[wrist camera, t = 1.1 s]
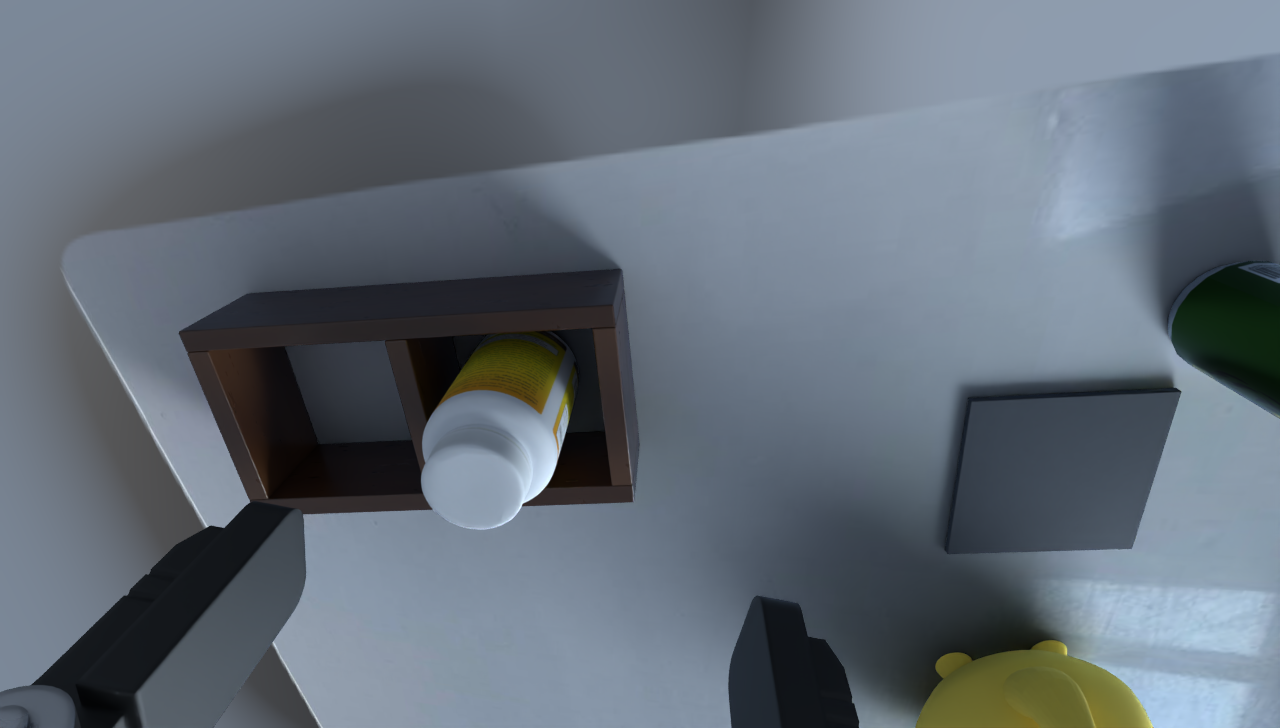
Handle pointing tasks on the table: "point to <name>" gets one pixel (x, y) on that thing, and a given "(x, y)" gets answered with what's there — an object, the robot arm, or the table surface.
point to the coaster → (1057, 470)
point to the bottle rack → (404, 384)
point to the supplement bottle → (499, 428)
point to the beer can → (1233, 329)
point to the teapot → (1029, 693)
